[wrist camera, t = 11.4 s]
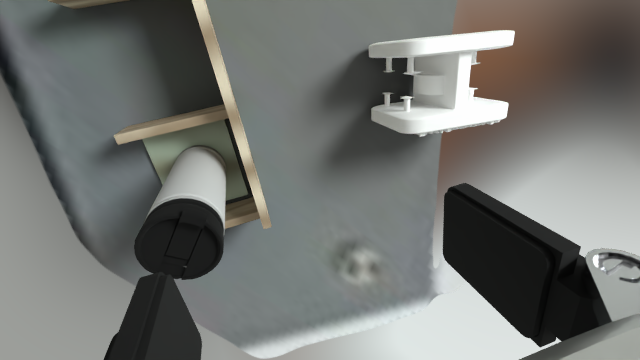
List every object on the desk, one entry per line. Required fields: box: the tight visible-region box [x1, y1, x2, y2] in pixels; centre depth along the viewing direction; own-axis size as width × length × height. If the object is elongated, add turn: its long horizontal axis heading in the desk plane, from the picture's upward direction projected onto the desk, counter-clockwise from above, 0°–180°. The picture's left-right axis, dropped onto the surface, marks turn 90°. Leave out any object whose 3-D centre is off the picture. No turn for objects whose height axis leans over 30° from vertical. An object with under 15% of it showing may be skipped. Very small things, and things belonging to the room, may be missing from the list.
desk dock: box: [48, 0, 272, 229], centre depth 34 cm, size 28×13×8 cm, turn 11°
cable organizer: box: [369, 30, 515, 137], centre depth 39 cm, size 15×11×12 cm
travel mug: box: [134, 145, 226, 280], centre depth 31 cm, size 6×7×20 cm
